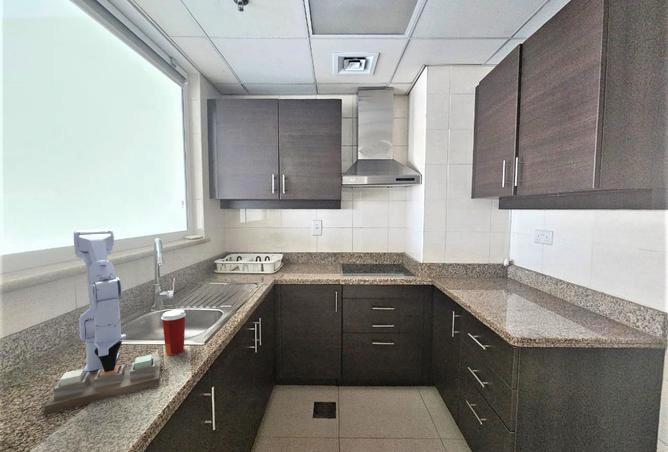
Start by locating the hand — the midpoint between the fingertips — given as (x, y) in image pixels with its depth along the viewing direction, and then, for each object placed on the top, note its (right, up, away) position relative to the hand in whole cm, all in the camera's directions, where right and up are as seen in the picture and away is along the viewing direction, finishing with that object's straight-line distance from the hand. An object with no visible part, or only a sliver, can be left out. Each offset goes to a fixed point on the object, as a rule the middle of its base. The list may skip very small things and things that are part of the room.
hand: (109, 370), depth 82 cm
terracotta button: (0, -2, 0) cm, 2 cm away
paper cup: (+7, -4, +21) cm, 22 cm away
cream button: (-7, -2, -4) cm, 8 cm away
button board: (0, -5, 0) cm, 5 cm away
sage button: (+7, -1, +4) cm, 8 cm away
